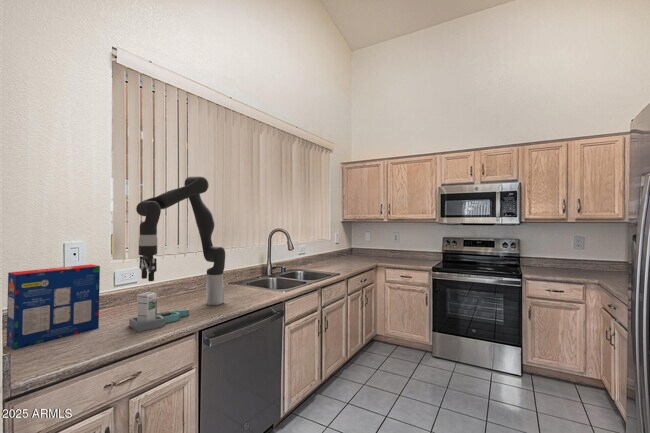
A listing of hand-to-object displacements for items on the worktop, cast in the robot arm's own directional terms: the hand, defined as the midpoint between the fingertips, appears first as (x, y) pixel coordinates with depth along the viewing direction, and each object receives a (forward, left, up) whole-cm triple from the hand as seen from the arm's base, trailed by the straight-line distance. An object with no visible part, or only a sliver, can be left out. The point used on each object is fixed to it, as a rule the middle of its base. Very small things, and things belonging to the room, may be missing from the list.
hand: (147, 279), depth 147 cm
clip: (-10, 0, -21) cm, 23 cm away
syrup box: (0, 0, -21) cm, 21 cm away
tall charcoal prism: (-10, -7, -21) cm, 25 cm away
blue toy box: (+31, -12, -21) cm, 39 cm away
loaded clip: (-17, -5, -21) cm, 28 cm away
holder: (0, 0, -21) cm, 21 cm away
